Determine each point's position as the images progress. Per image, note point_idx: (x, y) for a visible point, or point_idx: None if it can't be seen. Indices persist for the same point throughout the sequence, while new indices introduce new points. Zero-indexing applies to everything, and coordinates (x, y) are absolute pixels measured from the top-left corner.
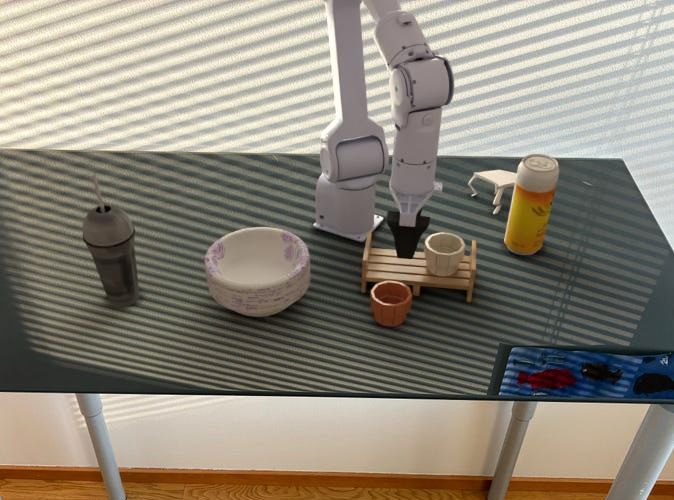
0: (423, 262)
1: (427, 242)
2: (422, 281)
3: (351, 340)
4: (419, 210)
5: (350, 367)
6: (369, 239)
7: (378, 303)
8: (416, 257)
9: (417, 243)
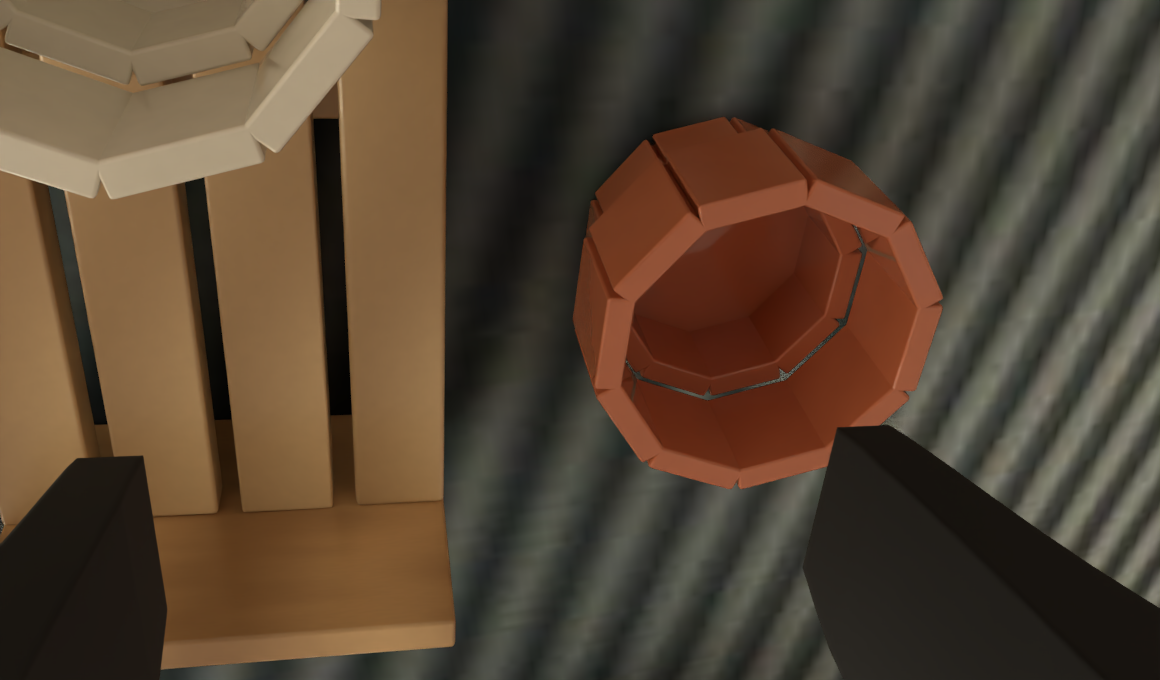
0: None
1: (127, 167)
2: (439, 56)
3: (913, 417)
4: (44, 674)
5: (1133, 389)
6: None
7: (884, 416)
8: None
9: (1113, 583)
